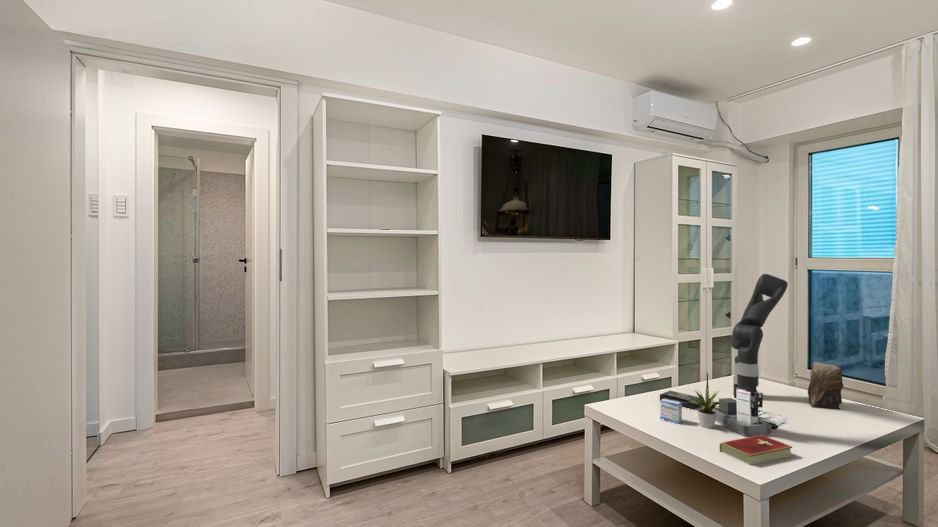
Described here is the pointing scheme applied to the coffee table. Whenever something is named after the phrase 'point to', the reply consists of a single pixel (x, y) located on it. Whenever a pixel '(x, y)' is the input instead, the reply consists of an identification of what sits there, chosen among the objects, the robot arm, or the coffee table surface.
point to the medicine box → (671, 410)
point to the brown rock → (825, 386)
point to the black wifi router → (683, 398)
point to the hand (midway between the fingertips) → (747, 413)
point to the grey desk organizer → (730, 420)
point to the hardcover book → (755, 449)
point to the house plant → (707, 410)
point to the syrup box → (745, 408)
